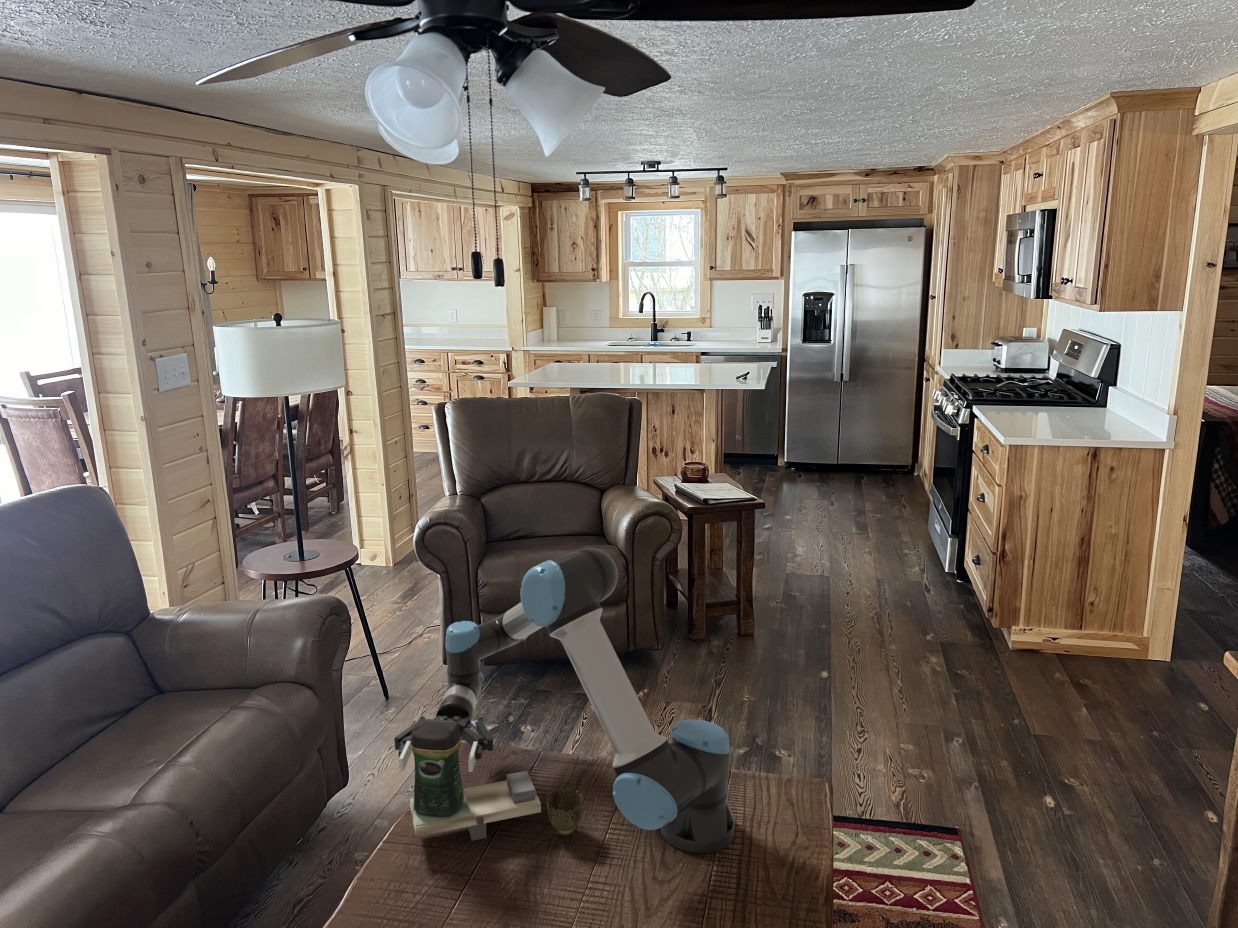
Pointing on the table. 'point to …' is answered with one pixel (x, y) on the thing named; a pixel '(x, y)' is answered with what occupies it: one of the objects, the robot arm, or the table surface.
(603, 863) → the table surface
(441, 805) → the coffee jar
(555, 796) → the cup
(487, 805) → the beam
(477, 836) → the beam stand
